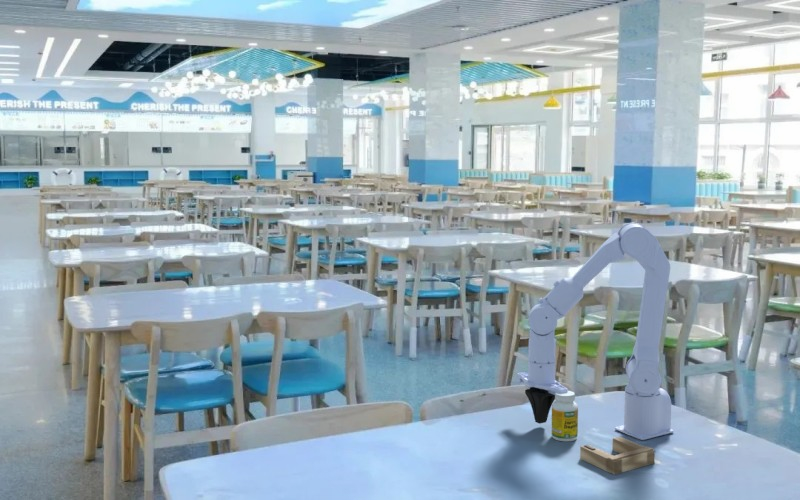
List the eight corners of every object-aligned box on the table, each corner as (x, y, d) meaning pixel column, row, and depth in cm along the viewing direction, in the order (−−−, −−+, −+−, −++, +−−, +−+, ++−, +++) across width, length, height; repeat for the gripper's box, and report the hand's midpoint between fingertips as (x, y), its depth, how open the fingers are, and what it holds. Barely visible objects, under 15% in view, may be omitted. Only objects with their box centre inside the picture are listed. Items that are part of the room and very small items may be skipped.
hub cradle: (619, 448, 164) (620, 435, 164) (654, 463, 157) (654, 449, 156) (580, 458, 159) (580, 445, 159) (613, 474, 152) (614, 460, 151)
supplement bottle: (564, 431, 175) (565, 387, 173) (583, 438, 170) (584, 393, 169) (545, 436, 172) (546, 391, 170) (564, 444, 167) (565, 398, 166)
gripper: (506, 355, 180) (505, 415, 181) (549, 371, 167) (548, 435, 169) (531, 351, 183) (530, 410, 185) (576, 366, 171) (574, 429, 172)
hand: (540, 422), depth 177 cm, fingers closed
